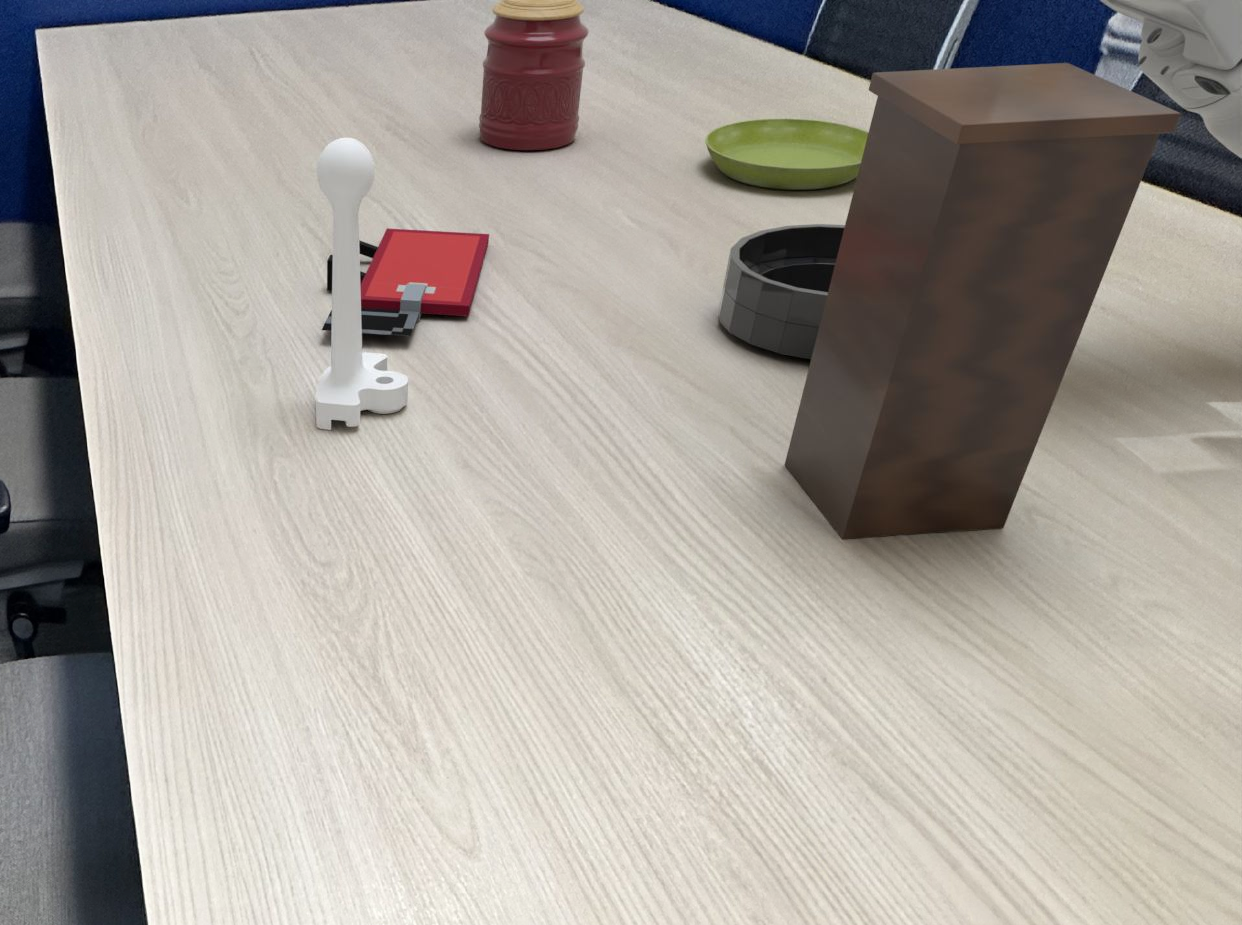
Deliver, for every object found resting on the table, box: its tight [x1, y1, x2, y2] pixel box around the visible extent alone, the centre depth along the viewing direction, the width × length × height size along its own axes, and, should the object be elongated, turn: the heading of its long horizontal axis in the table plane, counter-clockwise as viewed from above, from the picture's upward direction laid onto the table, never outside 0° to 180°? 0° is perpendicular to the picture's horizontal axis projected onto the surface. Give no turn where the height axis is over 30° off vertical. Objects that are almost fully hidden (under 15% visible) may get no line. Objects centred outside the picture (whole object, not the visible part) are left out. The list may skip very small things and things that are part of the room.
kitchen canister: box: [478, 0, 590, 151], centre depth 160 cm, size 13×13×18 cm
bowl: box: [718, 223, 845, 360], centre depth 117 cm, size 20×20×6 cm
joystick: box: [315, 137, 409, 431], centre depth 102 cm, size 11×8×20 cm
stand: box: [784, 62, 1182, 540], centre depth 86 cm, size 13×13×26 cm
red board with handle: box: [321, 227, 490, 337], centre depth 127 cm, size 30×3×15 cm
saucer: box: [705, 118, 869, 191], centre depth 152 cm, size 21×21×3 cm
